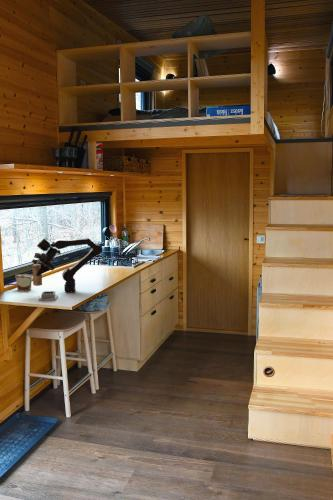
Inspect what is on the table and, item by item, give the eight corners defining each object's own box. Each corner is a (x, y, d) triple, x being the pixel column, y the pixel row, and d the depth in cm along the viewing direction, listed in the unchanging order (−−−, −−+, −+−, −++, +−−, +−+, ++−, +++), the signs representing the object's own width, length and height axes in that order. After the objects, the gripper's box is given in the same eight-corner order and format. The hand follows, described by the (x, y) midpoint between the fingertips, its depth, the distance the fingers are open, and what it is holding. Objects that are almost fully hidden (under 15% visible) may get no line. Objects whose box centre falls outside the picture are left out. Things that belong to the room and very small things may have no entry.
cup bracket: (57, 296, 311) (57, 290, 310) (56, 300, 301) (55, 294, 300) (41, 296, 310) (41, 291, 309) (39, 300, 300) (39, 294, 299)
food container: (36, 289, 332) (36, 274, 330) (31, 291, 326) (30, 276, 325) (21, 287, 336) (20, 273, 334) (15, 289, 330) (15, 275, 328)
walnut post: (38, 284, 315) (37, 264, 313) (42, 285, 312) (41, 264, 310) (33, 285, 312) (32, 264, 310) (36, 286, 309) (35, 265, 307)
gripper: (33, 246, 318) (19, 265, 312) (49, 249, 305) (34, 269, 299) (44, 257, 325) (30, 276, 318) (61, 260, 312) (46, 280, 306)
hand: (35, 275), depth 310 cm, fingers closed on walnut post, 4 cm apart
